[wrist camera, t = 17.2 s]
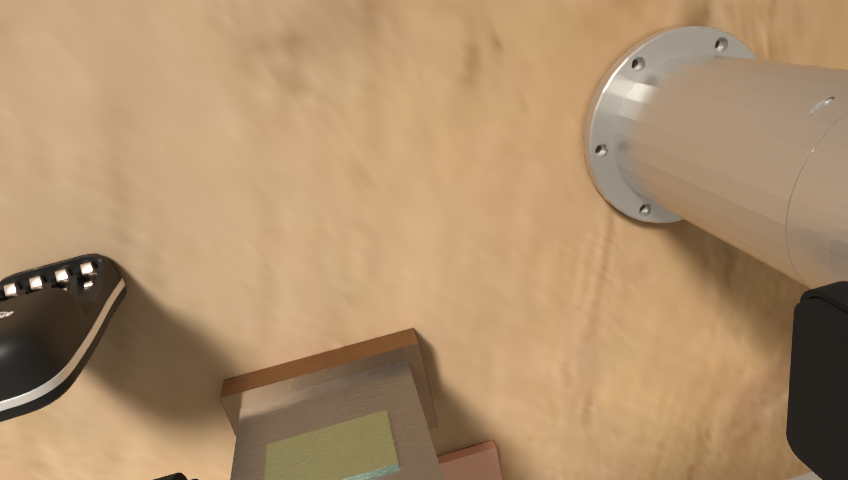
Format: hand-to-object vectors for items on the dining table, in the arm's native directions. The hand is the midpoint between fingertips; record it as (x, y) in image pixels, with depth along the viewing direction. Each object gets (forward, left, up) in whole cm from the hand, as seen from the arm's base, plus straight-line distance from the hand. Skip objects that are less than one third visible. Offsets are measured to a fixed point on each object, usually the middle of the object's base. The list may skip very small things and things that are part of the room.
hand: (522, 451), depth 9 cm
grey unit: (+6, +18, -28) cm, 34 cm away
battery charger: (+19, +5, -28) cm, 35 cm away
